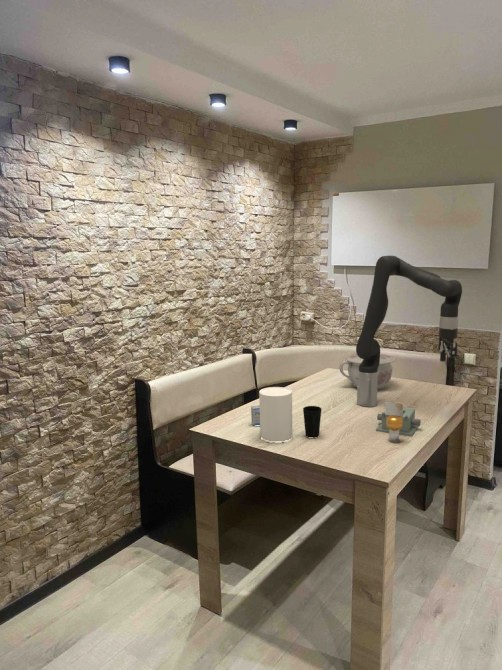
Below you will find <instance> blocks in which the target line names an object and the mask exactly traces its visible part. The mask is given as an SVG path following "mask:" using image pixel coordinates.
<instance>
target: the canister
mask: <svg viewBox="0 0 502 670" xmlns="http://www.w3.org/2000/svg"><path fill="white" fill-rule="evenodd" d="M258 393H259V395H258V397H259V405H260V426H259V437H260V436H261V437H262V438H263V439H265V440H269V441H285V440H289V439H291V438H292V439H293V390H292V389H290V388H288V387H281V386H271V387H270V386H269V387H265V388H262V389H260V390H259V392H258Z"/></svg>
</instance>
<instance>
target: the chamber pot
mask: <svg viewBox="0 0 502 670" xmlns="http://www.w3.org/2000/svg"><path fill="white" fill-rule="evenodd" d="M362 361H363V359H361V358H359V357H358V355H357V353H353V354H350V355H347V356H346V357H345V359H344V360H342V361H341V362H340V364H339V366H338V367H339V369H338V370H339V372H340V374H341V375H342V376H343V377H345V378H347V379H348V380H349V381H350V383H351V384H353V386H354V387H356V388H357V386H358V384H359V365H360V364H361V363H362ZM395 361H396V358H395V357H394V356H391V355H389V354H386V353H385V354H384V353H380V363H379V367H378V377H377V391H379V390H381V389H384V388H386V387H387V386H388V384H389V382H390V381H391V379H392V376H393V368H394V367H393V366H392V364H391V363H394V362H395ZM345 364H346V365H347V374H348V375H347V374H346V373H345V372H344V370H343V367H344V365H345Z"/></svg>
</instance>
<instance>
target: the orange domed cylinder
mask: <svg viewBox="0 0 502 670" xmlns="http://www.w3.org/2000/svg"><path fill="white" fill-rule="evenodd" d="M402 424H403V418H402V417H401V416H398V415H389V416H387V428H389V433H388V434H389V435H388V436H389V437H388V441H389V443H395V444H396V443H397V444H398V443H399V442H400V435H399V429H402Z"/></svg>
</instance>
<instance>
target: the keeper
mask: <svg viewBox="0 0 502 670" xmlns="http://www.w3.org/2000/svg"><path fill="white" fill-rule="evenodd" d="M384 404H385V405H384V406H385V411H386V417H387V416H389V415H398V416H401V417H402V418H403V407H404V405H403V404H404V403H403V402H399V401H391V400H385V403H384Z"/></svg>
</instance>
